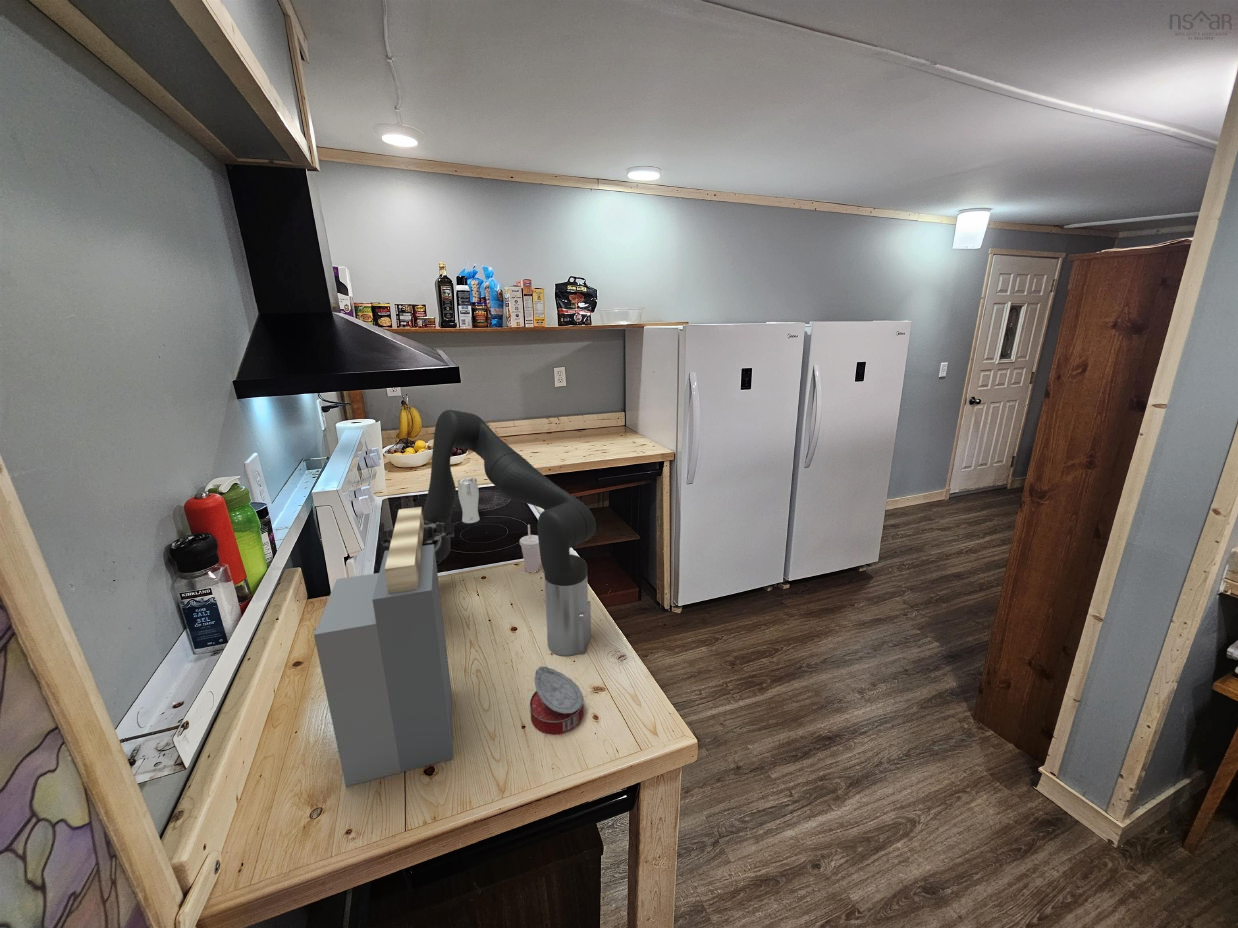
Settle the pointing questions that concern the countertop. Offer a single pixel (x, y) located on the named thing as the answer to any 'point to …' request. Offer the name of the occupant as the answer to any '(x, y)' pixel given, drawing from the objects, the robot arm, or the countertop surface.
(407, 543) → the birch bar
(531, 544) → the smoothie
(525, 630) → the countertop surface
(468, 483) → the beer glass
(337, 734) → the block
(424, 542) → the robot arm
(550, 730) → the canned food
